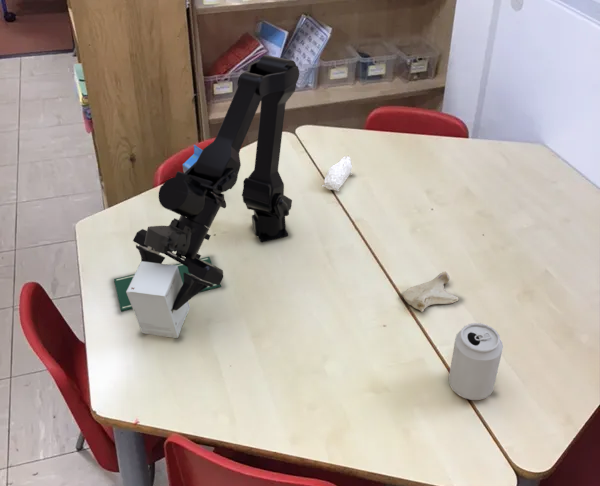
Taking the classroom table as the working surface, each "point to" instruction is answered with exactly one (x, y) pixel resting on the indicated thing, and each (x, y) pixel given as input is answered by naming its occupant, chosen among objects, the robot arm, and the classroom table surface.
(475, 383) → the can
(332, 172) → the white crumpled lump
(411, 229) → the classroom table surface
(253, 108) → the robot arm
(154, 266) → the white packaging box
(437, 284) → the fossil
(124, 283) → the green mat
